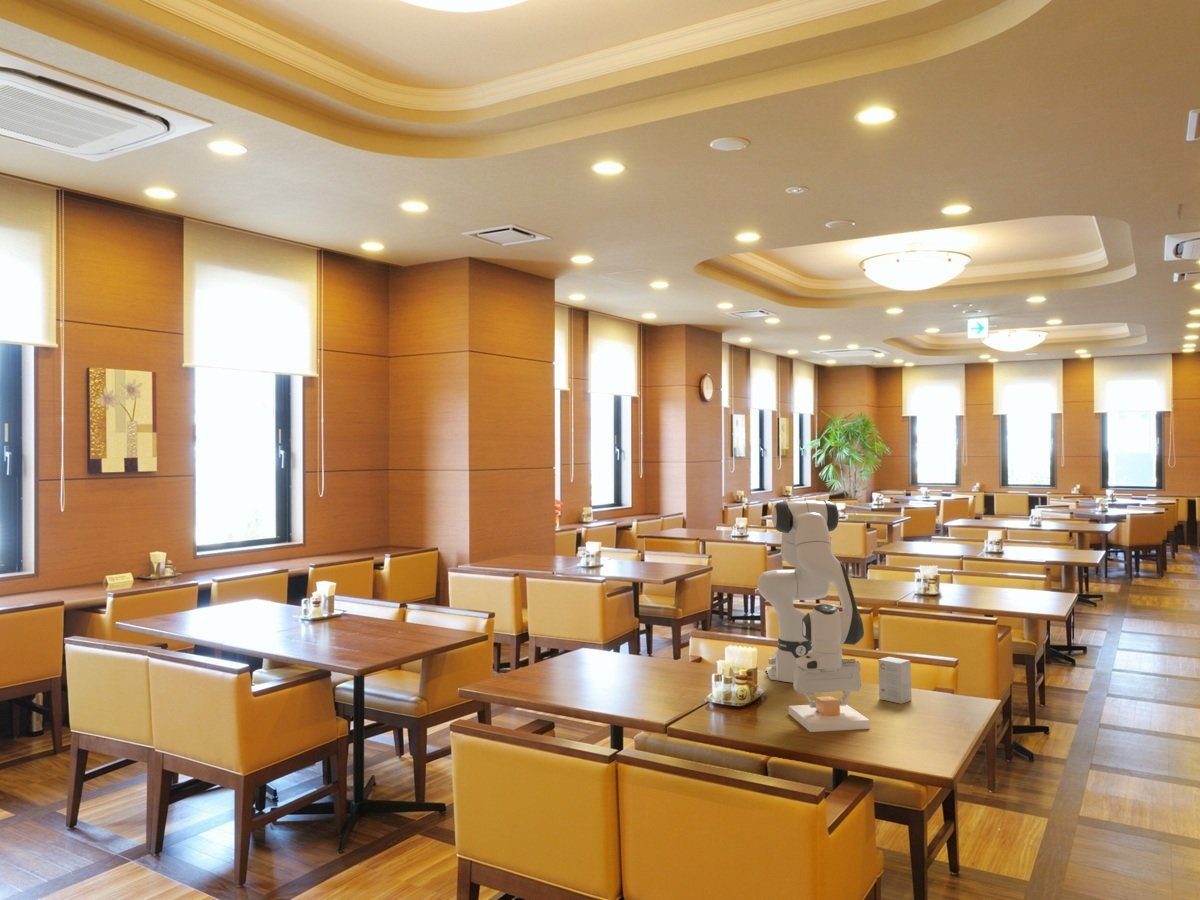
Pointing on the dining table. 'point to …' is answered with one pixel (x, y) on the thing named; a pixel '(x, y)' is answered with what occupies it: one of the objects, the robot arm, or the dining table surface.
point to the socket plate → (829, 719)
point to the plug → (827, 706)
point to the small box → (894, 680)
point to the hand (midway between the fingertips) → (827, 706)
